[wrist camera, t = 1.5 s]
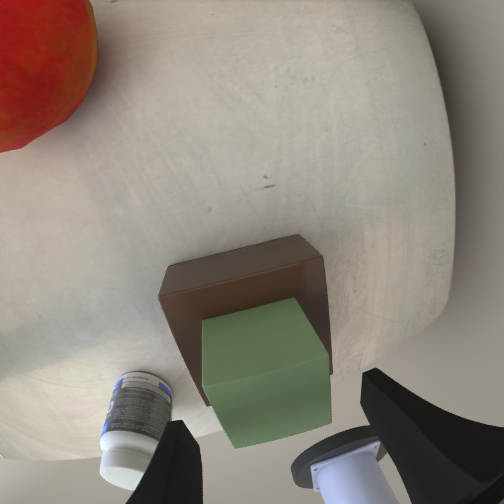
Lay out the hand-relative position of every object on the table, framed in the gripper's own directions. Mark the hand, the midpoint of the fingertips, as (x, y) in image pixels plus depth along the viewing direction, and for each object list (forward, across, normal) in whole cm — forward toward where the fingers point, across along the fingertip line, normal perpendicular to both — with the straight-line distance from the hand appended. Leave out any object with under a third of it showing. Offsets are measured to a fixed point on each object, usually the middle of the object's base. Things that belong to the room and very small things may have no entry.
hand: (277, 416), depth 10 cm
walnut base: (+9, 0, 0) cm, 9 cm away
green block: (+5, 0, 0) cm, 5 cm away
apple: (+9, +8, -17) cm, 21 cm away
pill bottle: (+9, +10, +6) cm, 14 cm away
